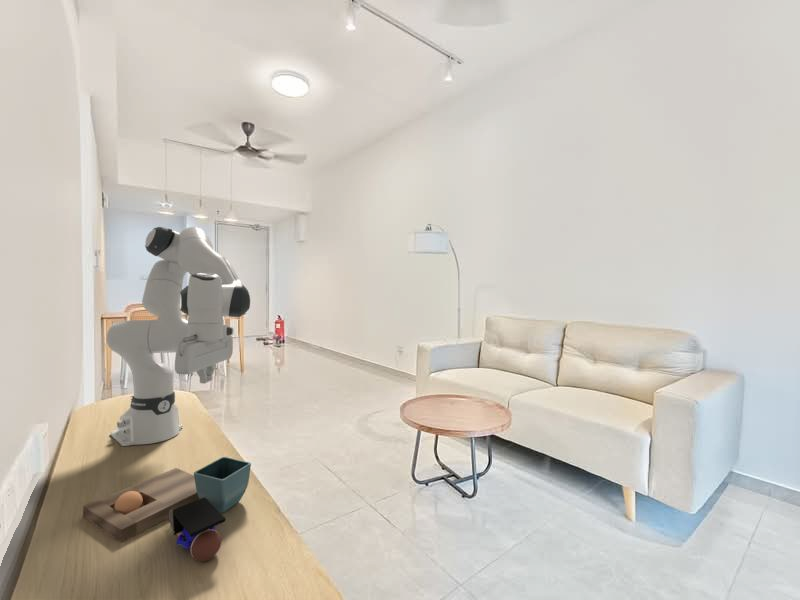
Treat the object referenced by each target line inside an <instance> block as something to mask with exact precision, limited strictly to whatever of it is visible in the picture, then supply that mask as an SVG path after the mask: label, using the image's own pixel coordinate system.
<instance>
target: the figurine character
mask: <svg viewBox="0 0 800 600" xmlns="http://www.w3.org/2000/svg"><path fill="white" fill-rule="evenodd" d="M168 522H169V524H170V527H171V528H172V529H173V535H174V536H177V540H176V545H178V546H183V547H184V548H185V549H189V548H190V554H191V557H192V558H193V559H194V560H195V561H197V562H206V561H209V560H211V559H212V558H213V557H215V556H216V554H218V553H219V550H220V548H221V546H222V536H221V535H220V533H219V532H218V531H217V530H215V529H216V527H217V526H219V525H221V524H223V523H225V522H227V518H226V517H225V516H224V515H223V514H222V512H219V511H218V510H217V509H216V508H215V507H214V506H213V505H212V504H211V503H210V502H209V501H208V500H207V499H206V498H205V497H204V498H201V499H199V500H196V501H194V502H191V503H189V504H186V505H184V506H181V507H179V508H175V509H172V510H170V511H169V518H168Z"/></svg>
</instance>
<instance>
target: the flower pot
mask: <svg viewBox="0 0 800 600" xmlns="http://www.w3.org/2000/svg"><path fill="white" fill-rule="evenodd" d="M251 466H252V463H251V462H249V461H244V460H240V459H235V458H231V457H228V456H222V457H220V458H217V459H216V460H214V461H213V462H209V464H207V465H205V466H204V467H202V468H199V469H197V470H196V471H194V472H193V475H194V478H195V485H196V490H197V494H198V497H199V499H201V498H204V497H205V498H206V499H207V500H208V501H209V502H210V503H211V504H212V505H213V506H214V507H215V508H216V509H217V510H218V511H219V512H220V513H221V514H222V513H225V512H227V511H228V510H230V509H231V508H232V507H234V506H235V505H237V504H238V503H239V502H240V501H241V499H242V498H243V496H244V495H245V493H246V491H247V487H248V485H249V480H250V473H251Z"/></svg>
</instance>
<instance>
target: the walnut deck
mask: <svg viewBox="0 0 800 600" xmlns="http://www.w3.org/2000/svg"><path fill="white" fill-rule="evenodd" d="M129 491H136V492H138V493H140V494H141V496H142V499H143V502H142V505H143V506H141V507H140V508H139V509H136V510H134V511H132V512H130V513H128V514H126V515H123V514H122V513H120V512H118V511H117V510H115V503H116V501H117V499H118V498H119V497H120V496H121V495H122V494H124V493H126V492H129ZM196 500H199V497H198V494H197V490H196V485H195V478H194V474H191V473H190V472H187V471H184V470H182V469H179V468H177V467H175V468H172V469H170V470H167V471H165V472H162V473H160V474H158V475H155V476H153V477H150V478H148V479H146V480H143V481H140V482H137V483H136V484H132V485H131V486H128V487H126V488H123V489H121V490H119V491H116V492H113V493H111V494H109V495H106V496H104V497H101V498H99V499H96V500H94V501H91V502H90V503H86V504H84V505H82V517H83V518H84V520H87V521H88V522H90V523H91V524H93V526H96V527H97V528H98V529H100V530H102V531H103V532H105V533H106V534H108V536H109V535H110V536H111V537H113V538H114V539H115V540H117V541H119V542H120V543H122V542H124V541H127V540H128V539H131V538H132V537H134V536H136V535H139V534H140V533H143V532H144V531H146V530H147V529H150V528H151V527H154V526H155V525H158V524H160V523H161V522H164V521H165V520H167V519H169V511H170V510H172V509H175V508H179V507H181V506H184V505H186V504H189V503H191V502H194V501H196Z"/></svg>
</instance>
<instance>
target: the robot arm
mask: <svg viewBox="0 0 800 600" xmlns="http://www.w3.org/2000/svg"><path fill="white" fill-rule="evenodd" d="M144 246H145V249H146V251H147V252H148V253H149V254H151V255H153V256H155V257H159V258H161V259H160V260H158V261H156V262H155V263H154V265H153V266H152V268H151V270H150V272H149V275H148V277H147V280H146V283H145V288H144V292H143V294H142V295H143V296H142V299H141V303H142V307H143V309H144V310H145V311H147V312H148V313H150V314H152V315H154V316H157V319H136V320H135V319H130V320H126V321H125V320H124V321H119V322H115V323H114V324H112V325H111V326H110V327H109V328H108V330H107V332H106V337H105V341H106V344H107V346H108V348H110V350H111V351H113V352H114V353H116V354H117V355H119V356H120V357H122V359H123V360H124V361H125V362H126V363H127V365H128V366H129V368H130V371H131V376H132V382H133V385H132V386H133V395H132V396H130V405H129V406H130V407H129V408H128V409H127V410H126V411H125V412H124V413H122V414H121V415H120V417H119V420H118V421H116V427H117V428H116V429H115V428H114V429H113V430H111V431H110V436H111V437H112V438H113V439H114V440H115V441H116V442H117V443H118V444H119V445H120V446H122V447H128V446H137V445H150V444H151V445H152V444H155V443H161V442H164V441H167V440H169V439H172V438H174V437H176V436H177V435H178V434H179V432H180V430H182V429H183V428H184V426H183V424H182V423H180V413H179V407H178V405H177V404H175V402H176V394H175V391H174V371H175V373H176V374H177V375H191V374H193V373H195V372H196V373H197V375H198V377H199V384H202V385H203V384H206V383H209V382H211V381H213V374H214V372H215V369H216V365H217V364H219V363H221V362H224V361H227V360H229V359H231V358H232V355H233V353H234V352H233V350H234V349H233V348H234V339H233V335H234V333H235V331H234V328H233V327H231V326H228V325H225V324H224V322H225V321H224V317H229V318H230V317H231V318H241V317H242V316H244V315H245V314H246V313H247V312H248V311H249V310H250V306H251V296H250V292H249V290H248V288H247V287H245V285H244V284H243V283H242V281H241V280H240V278H239V277H238V275H237V273H236V271H235V269H234V268H233V266H232V265H231V264H232V263H230V261H229V260H228V259H227V258H225V257H224V256H222V255H220V254H219V253H218V252H216V251H215V249H214V246H213V243H212V241H211V239H210V237H209V235H208V234H207V233H206V232H205V231H204V230H203V229H201V228H199V227H194V226H191V227H187V228H184V229H183V230H182V231H180V232H178V231H176V230H173V228H168V227H163V226H156V227H154V228H152V229H151V231H150V232H148V234H147V236H146V238H145V245H144ZM186 273H189V275H190V276H189V279H188V285H187V286H186V287H184V288H183V284H184V278H185V274H186ZM183 314H184V315H186V316H188V318H186V317H185V316H184V315H183ZM164 353H165V354H167V353H169V354H171V353H175V357H174V359H175V360H174V370H173V369H172V368H171V366H170V365H167V364H166V363H164V362H161V361H159V360H158V359H157V358H156V356H155V354H164ZM182 427H183V428H182ZM181 428H182V429H181Z"/></svg>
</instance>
